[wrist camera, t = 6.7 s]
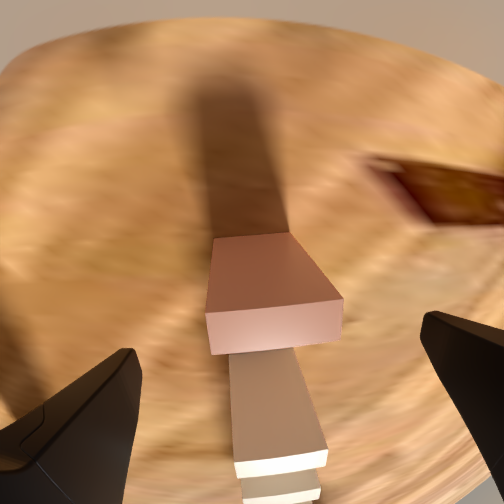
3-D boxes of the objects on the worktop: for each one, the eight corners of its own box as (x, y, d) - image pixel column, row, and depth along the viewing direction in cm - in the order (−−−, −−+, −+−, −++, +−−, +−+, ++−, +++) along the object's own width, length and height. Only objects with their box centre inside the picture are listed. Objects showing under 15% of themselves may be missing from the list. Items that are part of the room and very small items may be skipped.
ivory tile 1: (293, 365, 21) (325, 465, 13) (231, 372, 21) (237, 478, 12) (293, 347, 21) (328, 449, 12) (228, 354, 21) (233, 462, 12)
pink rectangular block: (290, 258, 19) (340, 340, 10) (216, 264, 19) (211, 355, 10) (289, 232, 18) (343, 298, 10) (213, 238, 18) (205, 313, 10)
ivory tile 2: (293, 405, 23) (318, 499, 14) (237, 412, 22) (244, 509, 14) (293, 391, 22) (321, 487, 14) (234, 398, 22) (242, 499, 13)
